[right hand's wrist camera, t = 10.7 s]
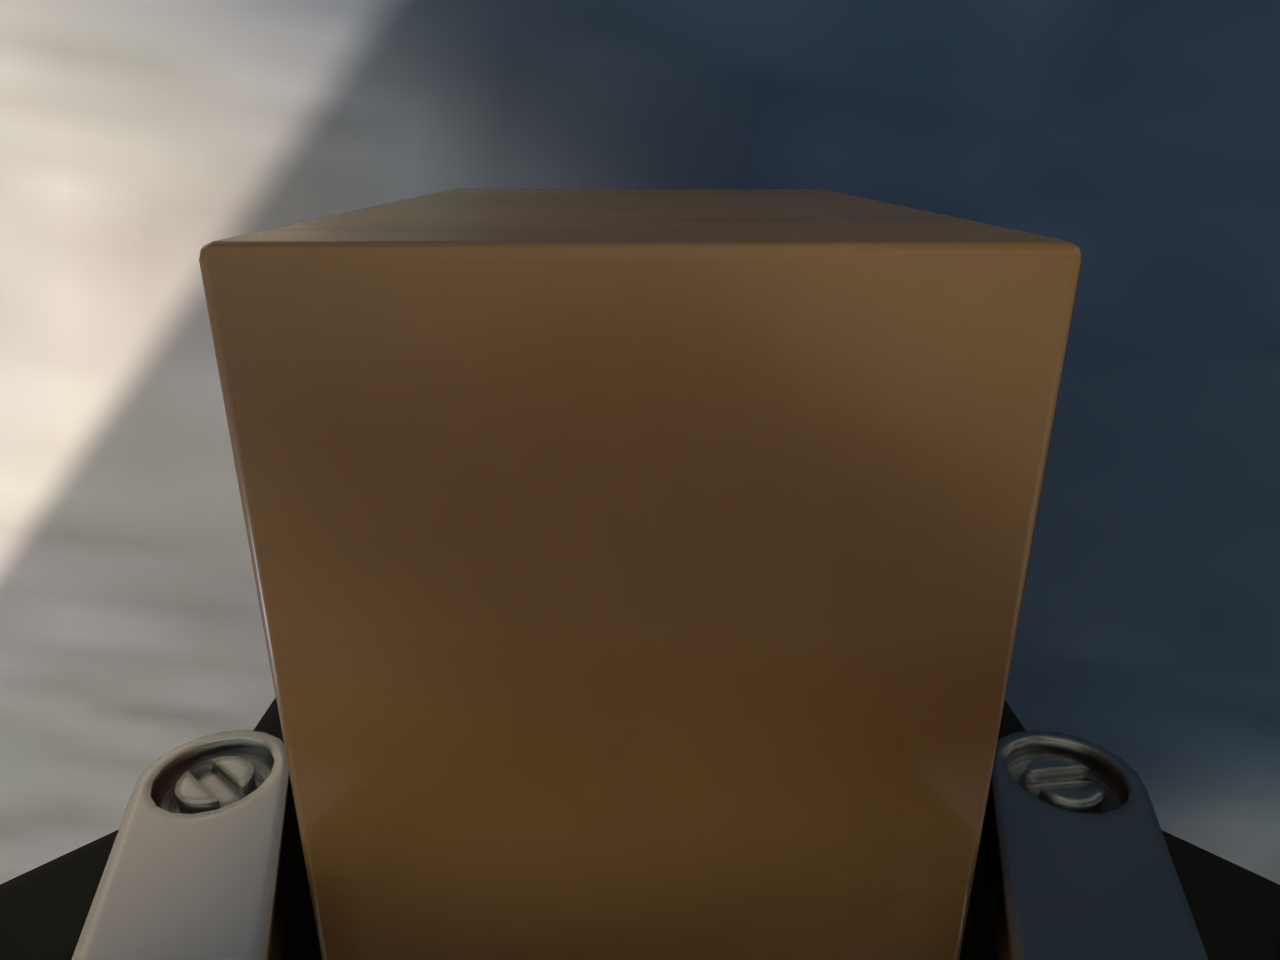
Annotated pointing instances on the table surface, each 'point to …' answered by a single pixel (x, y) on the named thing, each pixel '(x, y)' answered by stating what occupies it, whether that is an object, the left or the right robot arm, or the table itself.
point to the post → (640, 561)
